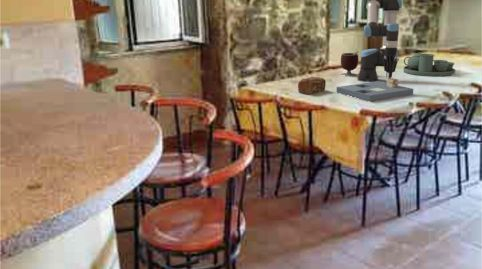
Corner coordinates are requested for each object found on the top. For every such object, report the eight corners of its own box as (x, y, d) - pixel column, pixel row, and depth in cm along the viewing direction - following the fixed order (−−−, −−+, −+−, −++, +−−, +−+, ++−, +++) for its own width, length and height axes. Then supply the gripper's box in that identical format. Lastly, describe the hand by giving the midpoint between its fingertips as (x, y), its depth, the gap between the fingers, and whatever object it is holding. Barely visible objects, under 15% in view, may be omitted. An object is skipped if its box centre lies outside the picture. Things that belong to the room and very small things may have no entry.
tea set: (463, 76, 376) (465, 55, 371) (412, 77, 376) (414, 56, 371) (443, 68, 414) (445, 49, 409) (396, 69, 414) (398, 49, 409)
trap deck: (378, 86, 342) (378, 81, 340) (412, 94, 315) (413, 88, 313) (336, 92, 324) (336, 86, 323) (369, 101, 298) (369, 95, 296)
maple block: (392, 85, 325) (392, 78, 324) (397, 86, 321) (398, 79, 319) (386, 86, 323) (387, 78, 321) (392, 87, 319) (392, 80, 317)
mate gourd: (336, 75, 389) (337, 50, 384) (347, 73, 397) (349, 48, 392) (351, 77, 378) (352, 52, 372) (362, 75, 386) (364, 50, 380)
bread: (309, 95, 320) (309, 80, 317) (297, 92, 327) (297, 78, 324) (326, 90, 332) (326, 76, 329) (314, 88, 339) (314, 74, 336)
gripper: (380, 46, 321) (377, 81, 328) (394, 48, 310) (391, 84, 317) (388, 45, 324) (385, 80, 331) (402, 47, 313) (399, 83, 320)
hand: (388, 82), depth 324 cm, fingers closed
